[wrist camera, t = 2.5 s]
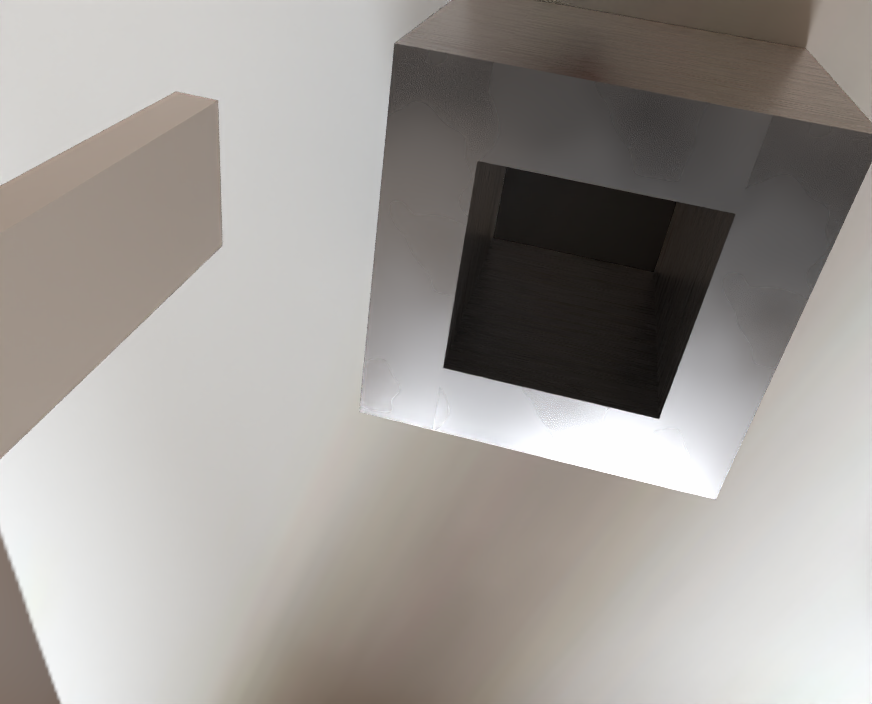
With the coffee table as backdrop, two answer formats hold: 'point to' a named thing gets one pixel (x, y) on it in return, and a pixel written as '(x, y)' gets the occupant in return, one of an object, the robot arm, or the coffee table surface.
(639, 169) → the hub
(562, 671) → the coffee table surface
